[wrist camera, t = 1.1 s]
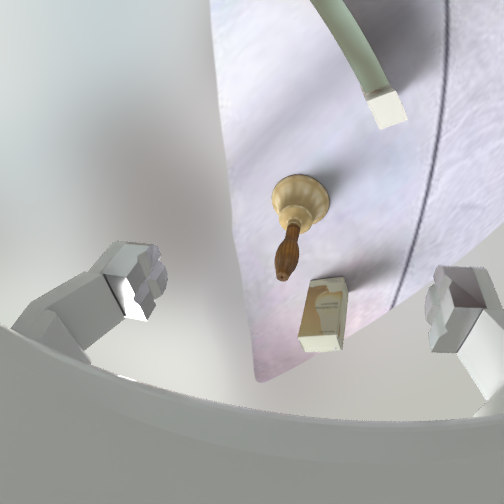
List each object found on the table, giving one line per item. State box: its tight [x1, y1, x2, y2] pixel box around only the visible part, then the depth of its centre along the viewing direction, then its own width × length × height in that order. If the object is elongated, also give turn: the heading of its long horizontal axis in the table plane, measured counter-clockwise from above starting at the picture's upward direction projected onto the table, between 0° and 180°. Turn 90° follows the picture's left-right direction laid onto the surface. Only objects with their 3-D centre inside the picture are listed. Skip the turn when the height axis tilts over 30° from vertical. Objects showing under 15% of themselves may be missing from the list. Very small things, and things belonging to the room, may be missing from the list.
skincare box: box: [298, 277, 348, 352], centre depth 48 cm, size 6×4×12 cm
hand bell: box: [272, 175, 329, 281], centre depth 38 cm, size 8×8×16 cm
